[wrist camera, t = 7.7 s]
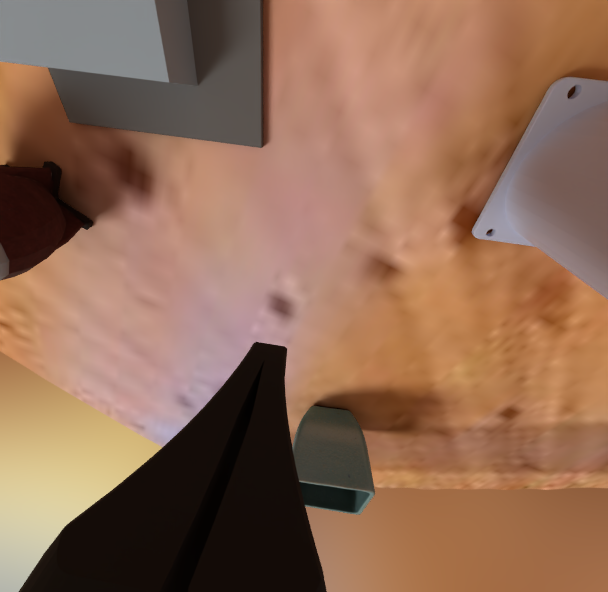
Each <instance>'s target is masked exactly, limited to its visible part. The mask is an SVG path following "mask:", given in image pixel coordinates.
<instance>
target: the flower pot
mask: <svg viewBox="0 0 608 592" xmlns="http://www.w3.org/2000/svg"><path fill="white" fill-rule="evenodd" d="M292 449H293V454H294V459H295V464H296V469H297V474H298V478H299V483H300V487H301V491H302V496H303V500H304V504H305V506H307V507H314V508H320V509H325V510H332V511H338V512H344V513H350V514H361V513H362V512H363V510H364V508H365V507H366V506H367V504H368V503H369V501H370V500H371V499H372V498H373V496H374V495H375V490H374V484H373V478H372V473H371V467H370V461H369V456H368V450H367V445H366V441H365V438H364V435H363V432H362V430H361V428H360V426H359V424H358V422H357V420H356V419H355V417H354V416H353V414H352V413H351V412H350V411H348V410H341V409H333V408H326V407H319V406H311V407H310V409H309V410H308V411H307V412H306V414H305V415H304V417H303V418H302V420H301V422H300V424H299V426H298V429H297V432H296V435H295V439H294V443H293V447H292Z"/></svg>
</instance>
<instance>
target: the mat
mask: <svg viewBox="0 0 608 592" xmlns="http://www.w3.org/2000/svg"><path fill="white" fill-rule="evenodd" d="M187 4H188V12H189V20H190V28H191V36H192V44H193V52H194V60H195V68H196V76H197V84H198V86H193V85H185V84H177V83H169V82H161V81H152V80H144V79H136V78H128V77H120V76H112V75H104V74H96V73H88V72H80V71H72V70H64V69H56V68H48V69H49V71H50V74H51V76H52V79H53V81H54V84H55V86H56V89H57V92H58V94H59V97H60V99H61V102H62V104H63V107H64V109H65V112H66V114H67V117H68V119H69V122H72V123H79V124H87V125H94V126H102V127H109V128H117V129H124V130H132V131H139V132H147V133H154V134H162V135H169V136H177V137H184V138H192V139H199V140H207V141H214V142H222V143H229V144H237V145H244V146H252V147H259V148H262V147H263V0H187Z"/></svg>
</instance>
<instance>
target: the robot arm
mask: <svg viewBox="0 0 608 592" xmlns="http://www.w3.org/2000/svg"><path fill="white" fill-rule="evenodd" d="M573 86H575V92H574V94H573V95H572V96H571V97H570V98H568V97H567V94H568V91H569V90H570V89H571V88H572V87H573ZM490 229H493V230H492V232H491V233H489V234H486V233H487V231H488V230H490ZM472 234H473V235H474V236H475V237H476V238H478V239H485V240H492V241H499V242H506V243H513V244H520V245H527V246H534V247H537V248H538V249H540V250H541V251H543V252H544V253H545V254H547V255H548V256H549V257H551V258H552V259H553V260H555V261H556V262H557V263H559V264H560V265H562V266H563V267H564V268H566V269H567V270H568V271H570V272H571V273H572V274H574V275H575V276H576V277H578V278H579V279H581V280H582V281H583V282H585V283H586V284H587V285H589V286H590V287H591V288H593V289H594V290H596V291H597V292H598V293H600V294H601V295H602V296H604V297H605V298H606V299H608V81H603V80H594V79H586V78H577V77H565V78H560V79H558V80H556V81H555V82H554V83H553V84H552V85H551V86H550V87H549V89H548V90H547V92H546V94H545V96H544V98H543V99H542V101H541V103H540V105H539V107H538V109H537V111H536V112H535V114H534V116H533V118H532V120H531V122H530V123H529V125H528V127H527V129H526V131H525V133H524V135H523V136H522V138H521V140H520V142H519V144H518V146H517V148H516V149H515V151H514V153H513V155H512V157H511V159H510V161H509V162H508V164H507V166H506V168H505V170H504V172H503V173H502V175H501V177H500V179H499V181H498V183H497V185H496V186H495V188H494V190H493V192H492V194H491V196H490V198H489V199H488V201H487V203H486V205H485V207H484V209H483V211H482V212H481V214H480V216H479V218H478V220H477V222H476V223H475V225H474V227H473V229H472ZM286 356H287V348H286V347H284V346H278V345H272V344H265V343H259V342H255V343H254V344H253V345H252V347H251V349H250V350H249V352H248V353H247V355H246V356H245V358H244V359H243V360H242V362H241V363H240V365H239V366H238V367H237V369H236V370H235V371H234V372H233V374H232V375H231V376H230V377H229V379H228V380H227V381H226V382H225V384H224V385H223V386H222V387H221V388H220V390H219V391H218V392H217V393H216V394H215V395H214V396H213V398H212V399H211V400H210V401H209V402H208V403H207V404H206V405H205V407H204V408H203V409H202V410H201V411H200V412H199V413H198V414H197V415H196V416H195V417H194V418H193V419H192V420H191V421H190V422H189V423H188V424H187V425H186V426H185V427H184V428H183V429H182V430H181V431H180V432H179V433H178V434H177V435H176V436H175V437H173V438H172V439H171V440H170V441H169V442H168V443H167V444H166V445H165V446H164V447H163V448H162V449H161V450H159V451H158V452H157V453H156V454H155V455H154V456H153V457H152V458H150V459H149V460H148V461H147V462H146V463H144V464H143V465H142V466H141V467H140V468H138V469H137V470H136V471H135V472H134V473H132V474H131V475H130V476H129V477H128V478H126V479H125V480H124V481H123V482H122V483H120V484H119V485H118V486H117V487H115V488H114V489H113V490H112V491H110V492H109V493H108V494H106V495H105V496H104V497H103V498H101V499H100V500H99V501H97V502H96V503H95V504H93V505H92V506H91V507H90V508H88V509H87V510H85V511H84V512H83V513H82V514H80V515H79V516H78V517H76V518H75V519H74V520H72V521H71V522H70V523H69V524H67V525H66V526H65V527H64V529H63V530H62V531H61V532H60V534H59V535H58V536H57V538H56V539H55V540H54V542H53V543H52V544H51V545H50V547H49V548H48V549H47V551H46V552H45V553H44V555H43V556H42V558H41V559H40V561H39V562H38V564H37V565H36V567H35V568H34V570H33V571H32V573H31V574H30V576H29V577H28V579H27V580H26V582H25V583H24V585H23V586H22V588H21V589H20V591H19V592H327V591H326V586H325V581H324V575H323V571H322V567H321V563H320V560H319V556H318V553H317V549H316V546H315V542H314V538H313V535H312V531H311V528H310V524H309V520H308V516H307V512H306V508H305V504H304V500H303V496H302V491H301V487H300V483H299V478H298V474H297V469H296V464H295V459H294V454H293V449H292V443H291V438H290V431H289V424H288V417H287V408H286V397H285V379H284V377H285V368H286Z"/></svg>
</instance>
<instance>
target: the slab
mask: <svg viewBox="0 0 608 592" xmlns="http://www.w3.org/2000/svg"><path fill="white" fill-rule="evenodd" d="M0 61H1V62H9V63H17V64H25V65H32V66H40V67H48V68H56V69H64V70H72V71H80V72H88V73H96V74H104V75H112V76H120V77H128V78H136V79H144V80H152V81H161V82H169V83H177V84H185V85H193V86H198V84H197V76H196V68H195V60H194V52H193V44H192V36H191V28H190V20H189V12H188V4H187V0H0Z"/></svg>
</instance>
